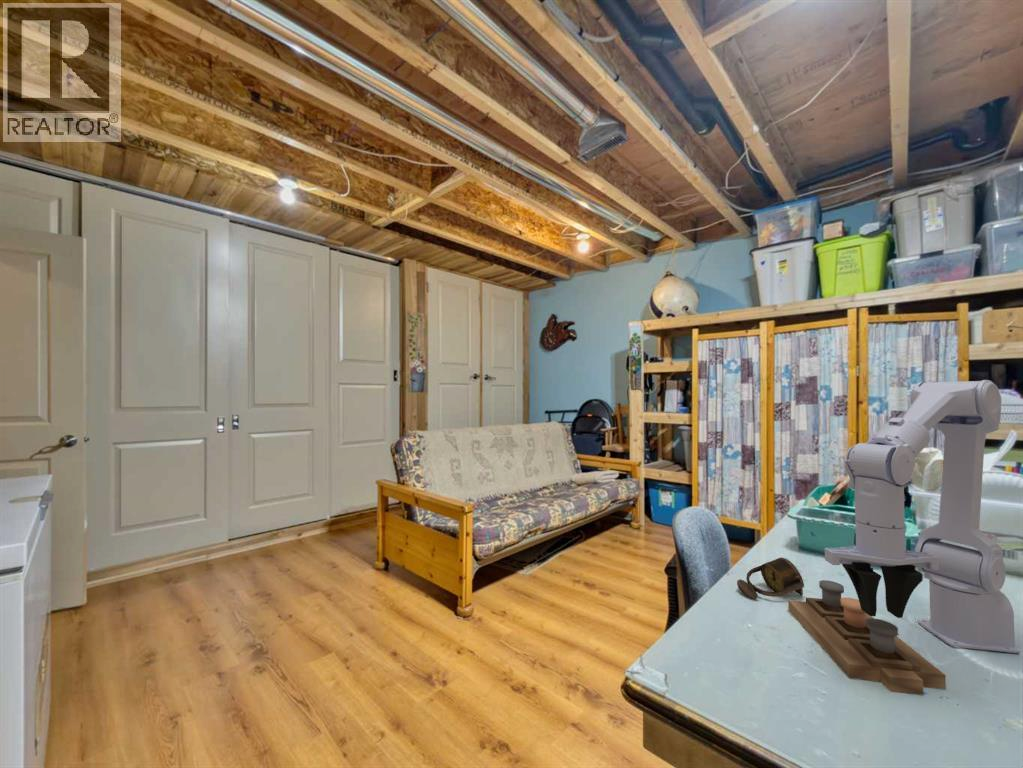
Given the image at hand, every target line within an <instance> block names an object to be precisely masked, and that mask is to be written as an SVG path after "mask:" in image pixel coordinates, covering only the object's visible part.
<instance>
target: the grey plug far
mask: <svg viewBox="0 0 1023 768" xmlns="http://www.w3.org/2000/svg"><path fill="white" fill-rule="evenodd" d="M818 582H819V584H818V585H819V589H821V599H822V602H823V603H824V604H826V605H829V606H833V607H841V598H842V594H844V592H845V587H844V585H842V584H841V583H838V582H836V581H831V580H825V579H824V580H823V579H822V580H819V581H818Z"/></svg>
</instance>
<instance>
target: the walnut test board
mask: <svg viewBox="0 0 1023 768" xmlns="http://www.w3.org/2000/svg"><path fill="white" fill-rule="evenodd" d="M787 601H788V605H787V606H788V612H789V613H790V614H791V615H792V617H793V618H795V620H796V621H797V622H798V623H799V624H800V625H801V627H803V629H804V630H805V631H806V632H807V633H808V634H809V635H810V636H811V637H812V639H813V641H815V642H816V643H817V644H818V645H819V647H821V648H822V649H823V650H824V652H825V654H827V656H829V658H830V659H832V661H833V662H834V663H835V664H836V665H837V667H838V668H840V670H841V671H842V672H843V673H844V674H845V675H846V676H847V678H848V679H853V680H854V679H855V680H863V681H873V682H880V683H881V684H883V686H885V688H886V689H888V691H889V692H894V693H903V694H910V695H911V694H912V695H918V696H919V695H920V696H924V688H932V689H940V690H947V684H946V683H947V682H946V679H947V678H946V677H947V675H946V673H943V671H941V670H940V669H939V668H937V667H936V666H935V665H934V664H932V662H930V661H929V660H927V659H926V658H925V657H924V656H922V655H921V654H920V653H919V652H918V651H916V650H915V649H914V648H913V647H911V646H910V645H908V644H907V643H906V642H905V641H903V640H902V639H901V638H900V637H898V636H895V637H894V640H895V652H894V653H886V652H882V651H879V650H877V649H875V648H873V647H872V646H871V645H870V630H869V629H868V628H867V626H866V620H867V619H869V618H874V616H869V615H868V614H867V613H865V627H864V628H858V627H854V626H851V625H848V624H847V623H845V622H844V607H842V606H841V607H833V606H829V605H826V604H824V603H823V602H822V598H818V597H817V598H816V597H805V601H803V600H802V601H801V600H791V599H790V600H787Z"/></svg>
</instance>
